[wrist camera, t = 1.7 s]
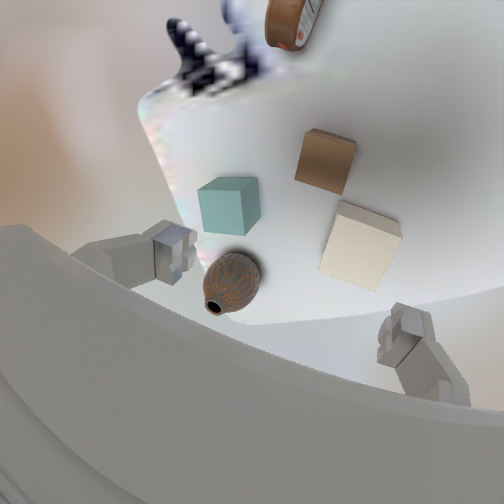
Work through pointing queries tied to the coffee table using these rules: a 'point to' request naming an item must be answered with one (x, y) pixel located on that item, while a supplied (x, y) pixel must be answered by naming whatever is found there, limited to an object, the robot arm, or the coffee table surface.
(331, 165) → the walnut block
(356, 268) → the limestone block
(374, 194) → the coffee table surface
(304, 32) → the tin
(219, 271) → the vase
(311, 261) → the coffee table surface
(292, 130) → the coffee table surface
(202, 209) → the teal cube
